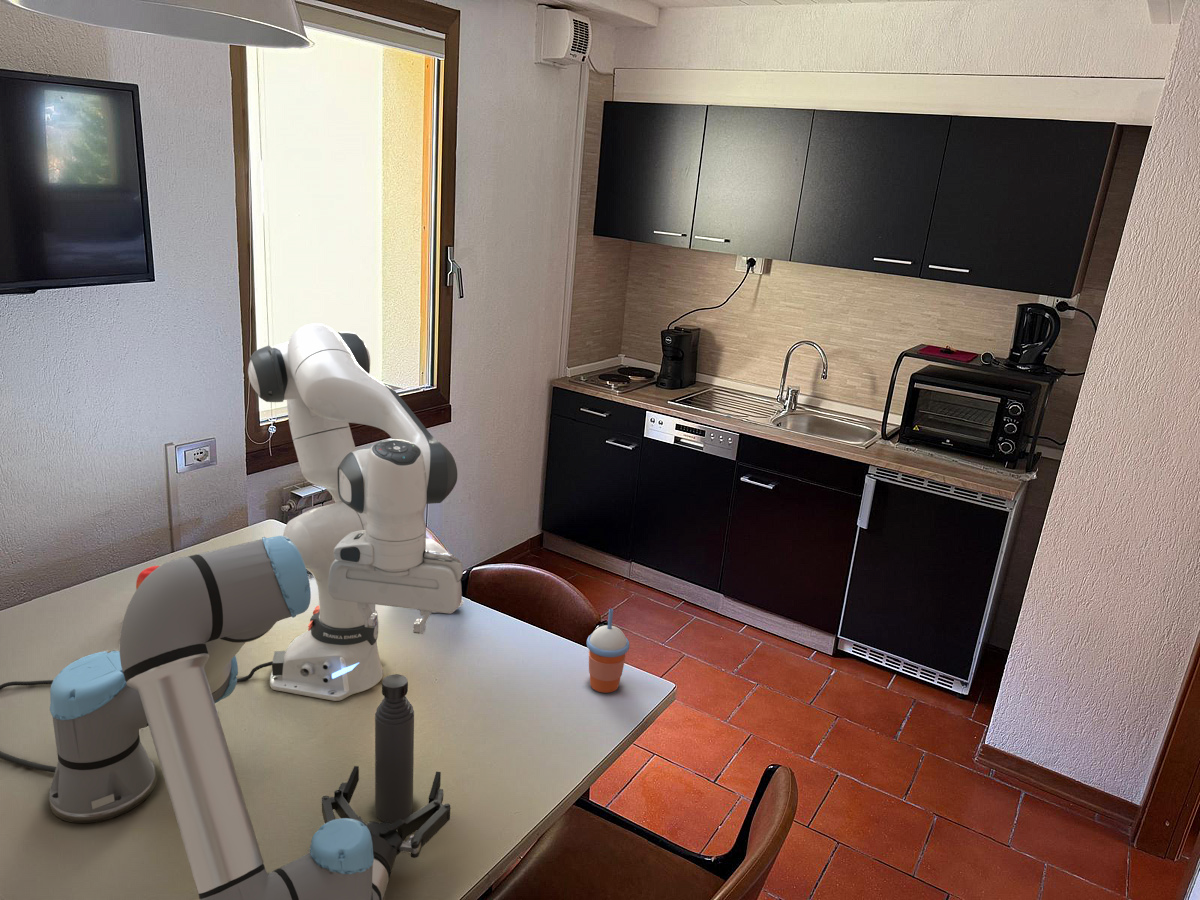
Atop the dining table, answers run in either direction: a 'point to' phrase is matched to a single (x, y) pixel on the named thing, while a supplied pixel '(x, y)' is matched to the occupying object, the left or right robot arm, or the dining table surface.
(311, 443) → the right robot arm
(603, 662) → the cup with straw
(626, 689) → the dining table surface
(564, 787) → the dining table surface
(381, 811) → the bottle
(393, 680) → the cap
